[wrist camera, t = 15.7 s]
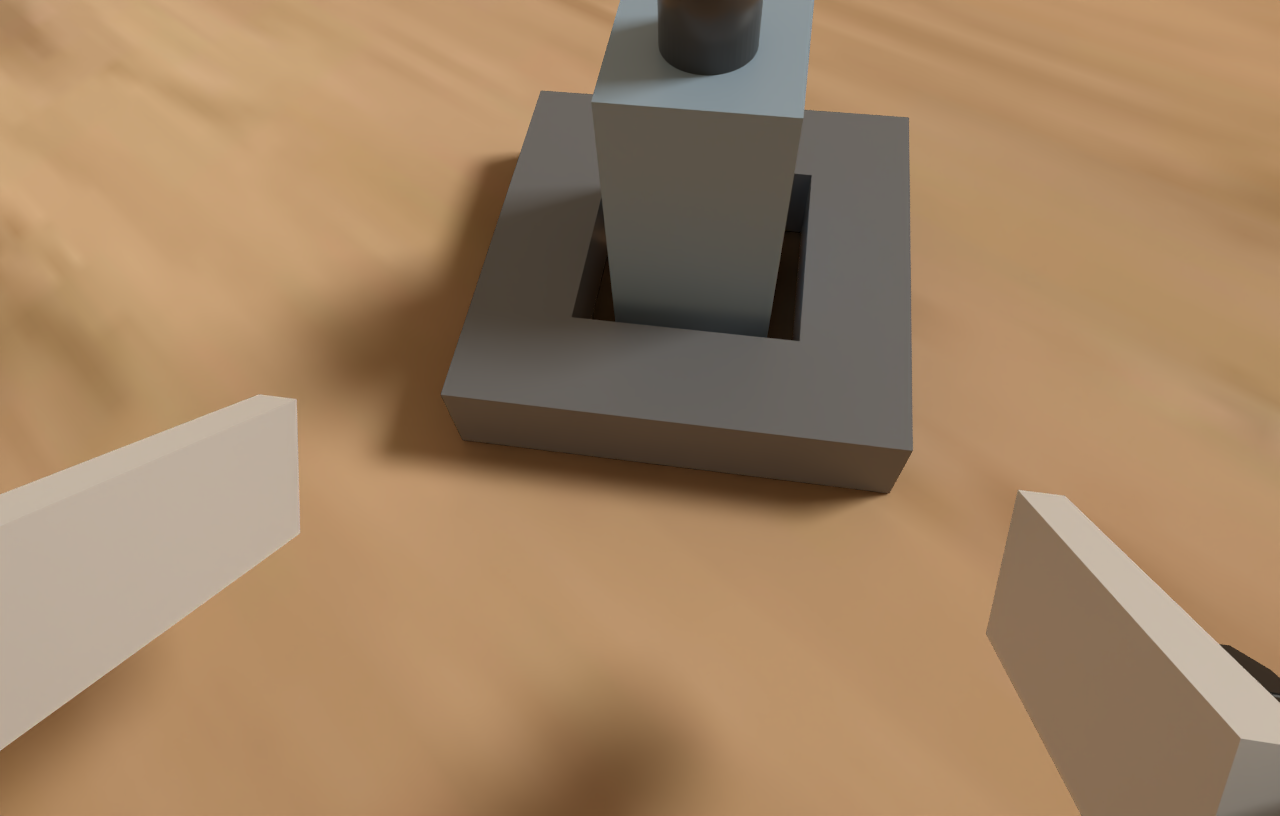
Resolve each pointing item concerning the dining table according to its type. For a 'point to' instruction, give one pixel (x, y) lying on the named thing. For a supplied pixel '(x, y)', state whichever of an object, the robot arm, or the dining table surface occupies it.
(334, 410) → the dining table surface
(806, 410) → the frame
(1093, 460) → the dining table surface
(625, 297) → the connector plug
